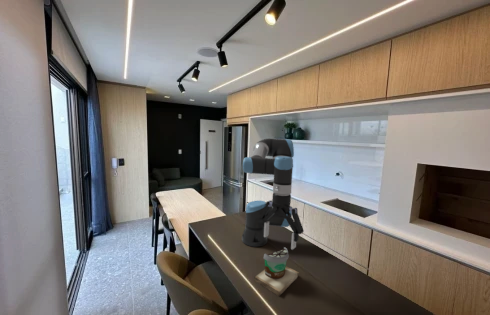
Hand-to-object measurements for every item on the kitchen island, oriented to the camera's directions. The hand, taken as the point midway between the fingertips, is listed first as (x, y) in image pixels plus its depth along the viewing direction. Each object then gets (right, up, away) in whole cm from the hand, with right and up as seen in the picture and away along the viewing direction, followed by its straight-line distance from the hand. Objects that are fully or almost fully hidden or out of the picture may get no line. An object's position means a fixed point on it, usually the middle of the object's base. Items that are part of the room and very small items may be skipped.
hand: (279, 241), depth 86 cm
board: (-1, -17, +1) cm, 17 cm away
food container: (0, -15, +1) cm, 15 cm away
